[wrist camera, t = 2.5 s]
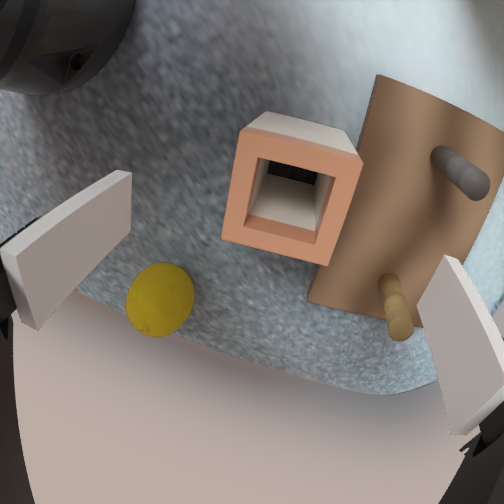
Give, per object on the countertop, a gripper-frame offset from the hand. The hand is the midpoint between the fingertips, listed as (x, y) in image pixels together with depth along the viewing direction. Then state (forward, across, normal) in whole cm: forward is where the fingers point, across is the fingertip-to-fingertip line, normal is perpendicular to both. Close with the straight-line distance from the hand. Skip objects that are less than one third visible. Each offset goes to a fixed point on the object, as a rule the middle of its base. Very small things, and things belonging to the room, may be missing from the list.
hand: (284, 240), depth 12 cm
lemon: (+12, -8, -13) cm, 19 cm away
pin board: (+12, +10, -2) cm, 16 cm away
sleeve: (+12, 0, 0) cm, 12 cm away
